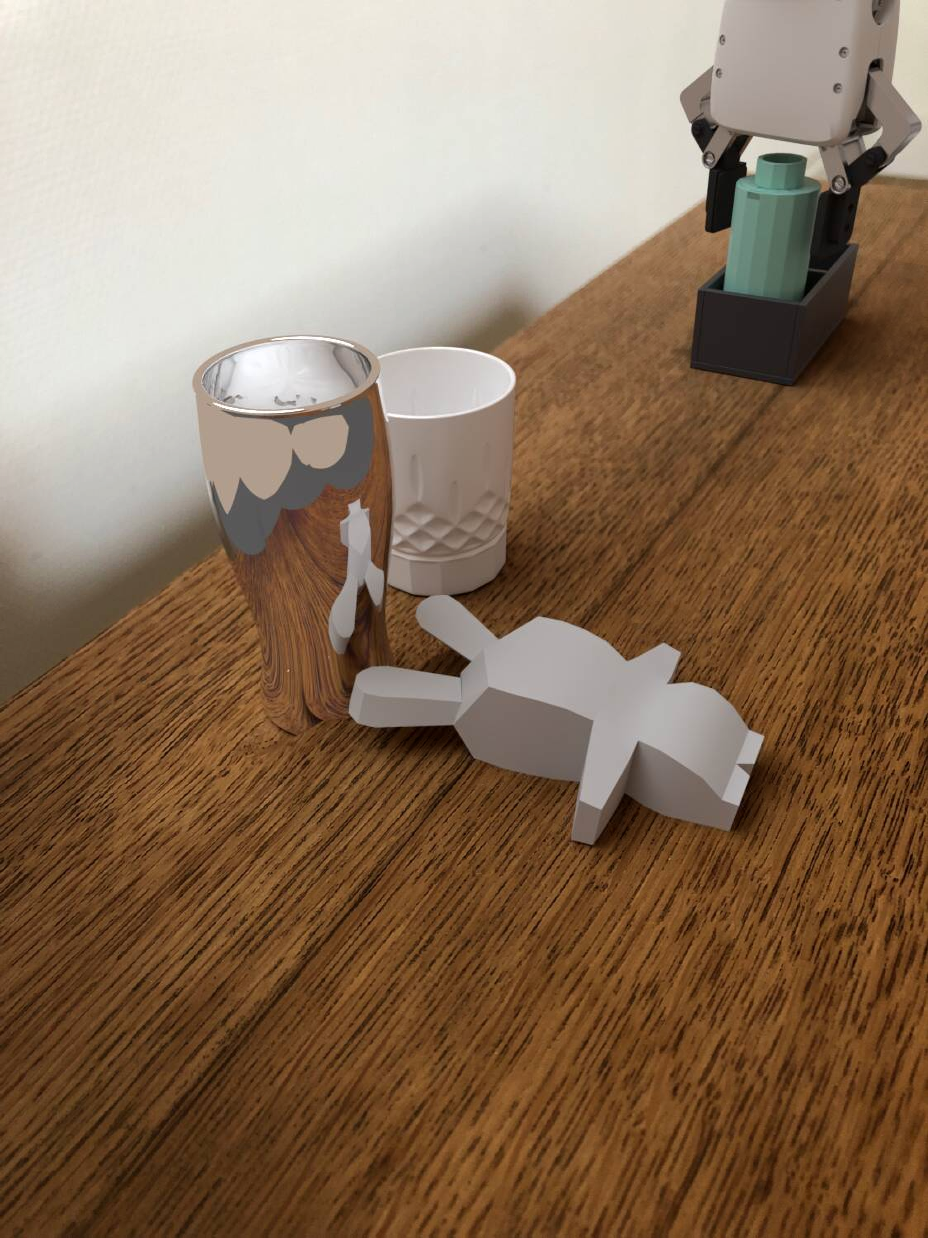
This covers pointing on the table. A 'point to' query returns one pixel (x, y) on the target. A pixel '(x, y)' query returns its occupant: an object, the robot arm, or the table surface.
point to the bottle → (772, 229)
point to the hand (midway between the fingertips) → (773, 238)
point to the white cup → (449, 466)
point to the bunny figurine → (574, 717)
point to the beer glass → (303, 511)
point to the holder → (771, 323)
